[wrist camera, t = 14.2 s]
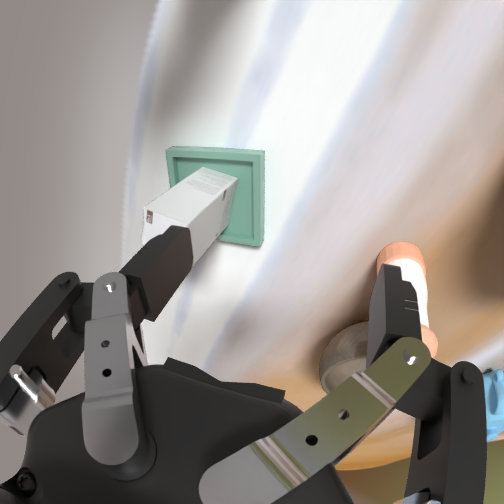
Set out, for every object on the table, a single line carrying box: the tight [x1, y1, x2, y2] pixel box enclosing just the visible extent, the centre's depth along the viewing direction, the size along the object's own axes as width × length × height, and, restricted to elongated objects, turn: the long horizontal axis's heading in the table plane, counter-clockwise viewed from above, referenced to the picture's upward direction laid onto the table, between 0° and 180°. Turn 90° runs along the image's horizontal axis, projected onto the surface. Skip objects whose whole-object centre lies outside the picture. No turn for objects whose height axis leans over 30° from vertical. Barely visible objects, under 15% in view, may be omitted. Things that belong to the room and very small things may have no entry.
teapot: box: [482, 369, 504, 441], centre depth 46 cm, size 19×19×14 cm
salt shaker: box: [377, 242, 438, 358], centre depth 35 cm, size 7×7×19 cm
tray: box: [166, 146, 265, 247], centre depth 45 cm, size 14×14×2 cm
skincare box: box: [142, 167, 238, 267], centre depth 39 cm, size 8×6×15 cm
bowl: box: [319, 321, 369, 394], centre depth 49 cm, size 17×18×10 cm
